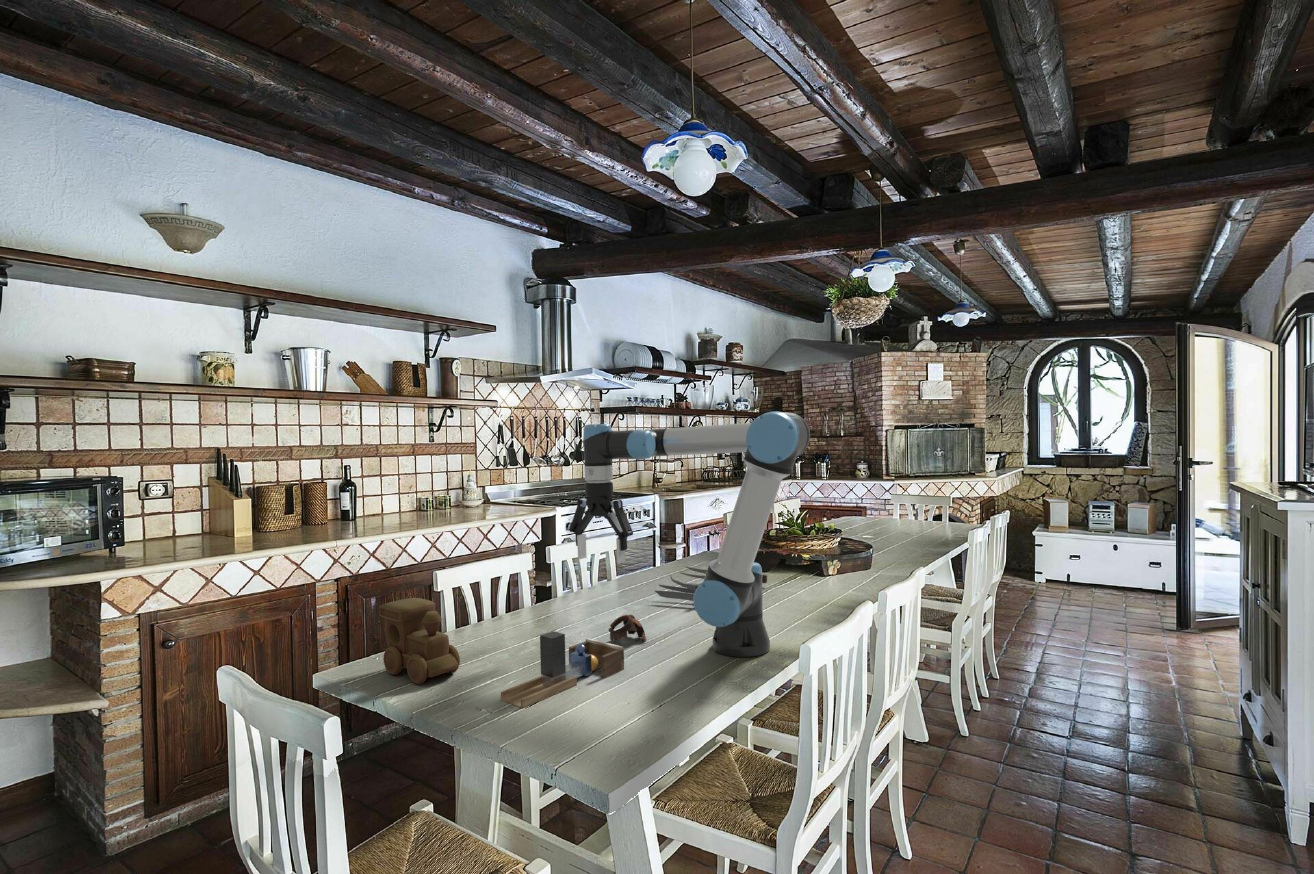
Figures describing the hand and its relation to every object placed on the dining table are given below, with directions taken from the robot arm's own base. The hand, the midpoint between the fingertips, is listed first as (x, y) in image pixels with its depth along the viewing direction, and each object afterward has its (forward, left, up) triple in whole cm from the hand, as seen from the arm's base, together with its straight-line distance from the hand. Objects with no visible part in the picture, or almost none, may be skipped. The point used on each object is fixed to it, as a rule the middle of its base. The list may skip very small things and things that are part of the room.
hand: (601, 560), depth 185 cm
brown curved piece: (-2, -9, -24) cm, 25 cm away
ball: (-9, +15, -22) cm, 28 cm away
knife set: (+8, -63, -24) cm, 68 cm away
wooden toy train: (+24, +40, -24) cm, 52 cm away
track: (-9, +31, -24) cm, 40 cm away
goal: (-9, +13, -24) cm, 28 cm away
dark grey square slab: (-9, +23, -24) cm, 34 cm away
